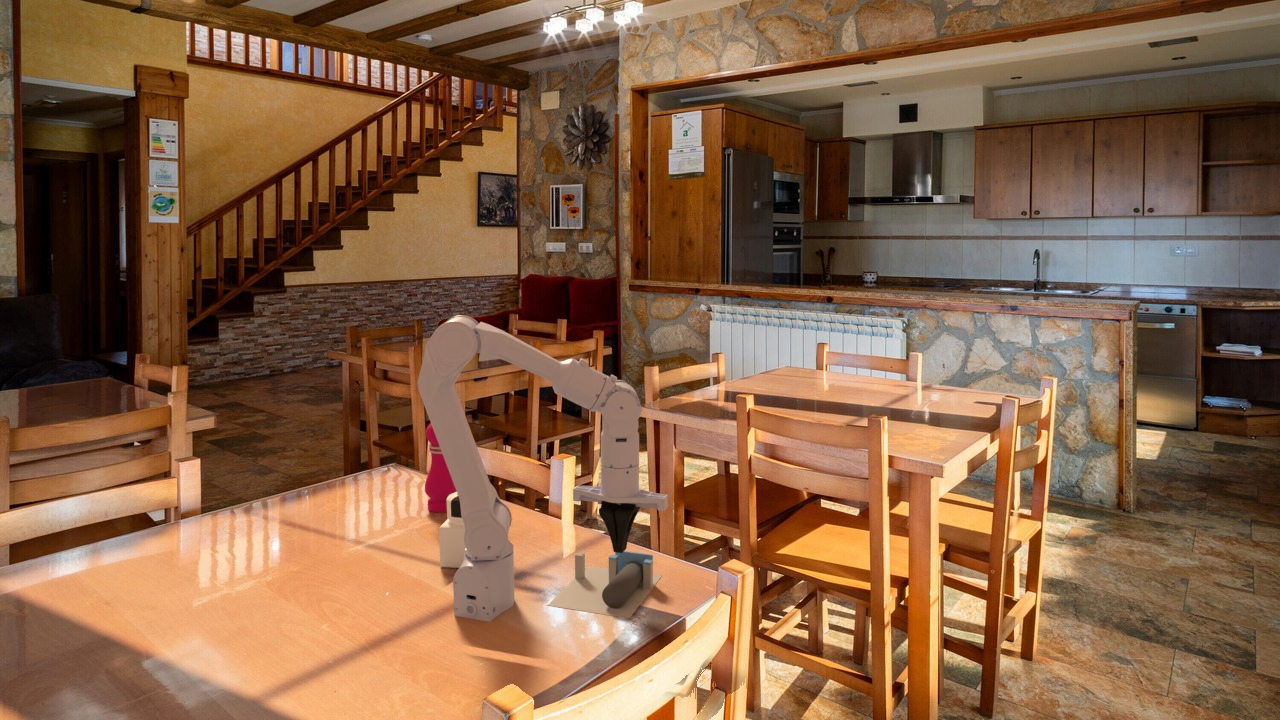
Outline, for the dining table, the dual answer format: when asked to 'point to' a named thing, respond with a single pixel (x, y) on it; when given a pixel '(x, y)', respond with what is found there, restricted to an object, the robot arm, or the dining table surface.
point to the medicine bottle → (452, 535)
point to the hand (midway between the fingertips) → (620, 550)
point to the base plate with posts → (593, 580)
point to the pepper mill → (437, 476)
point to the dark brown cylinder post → (623, 585)
